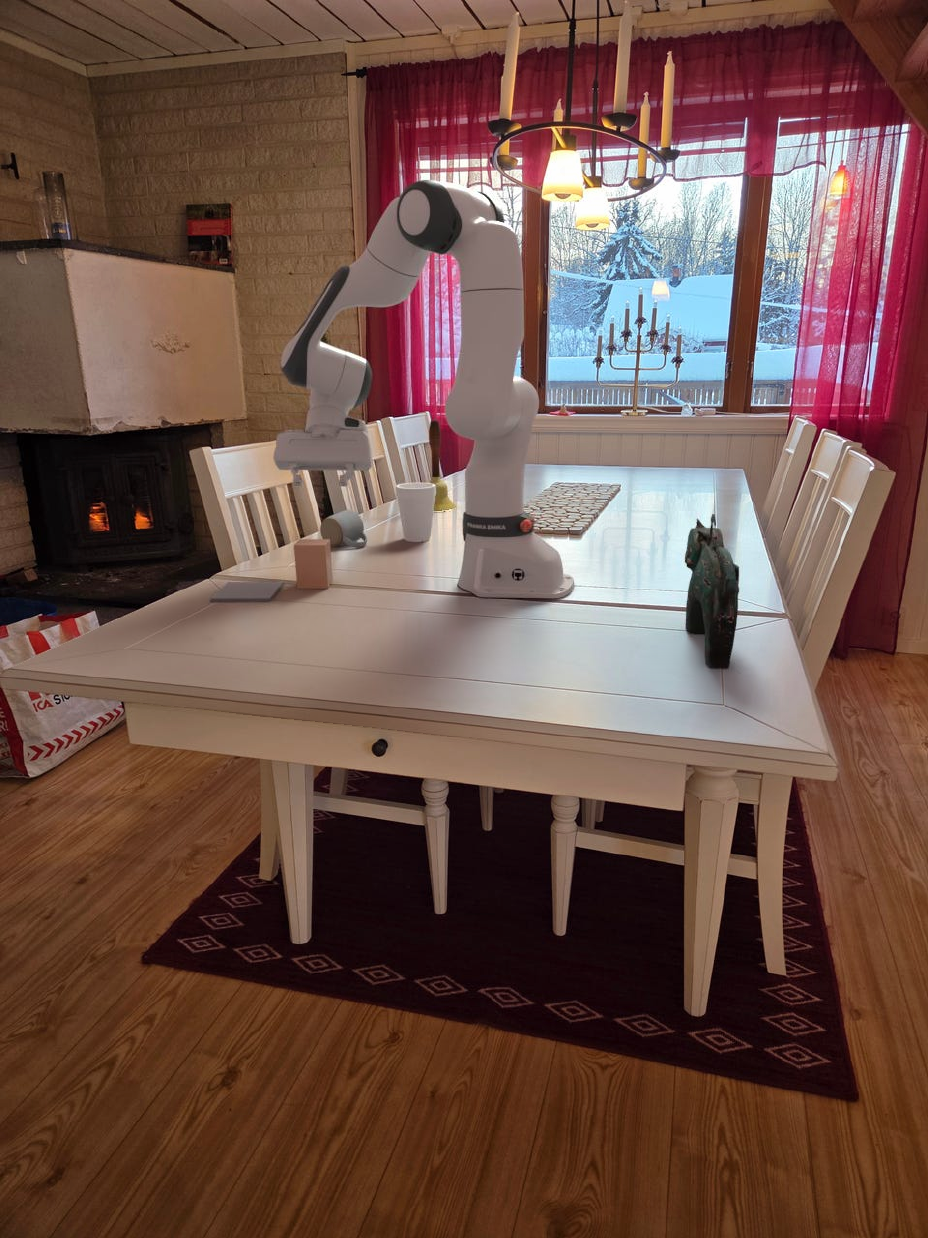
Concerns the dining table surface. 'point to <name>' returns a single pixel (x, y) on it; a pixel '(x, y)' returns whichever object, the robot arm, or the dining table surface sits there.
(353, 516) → the ceramic mug
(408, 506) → the foam cup
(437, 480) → the handbell
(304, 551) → the tan wooden post block
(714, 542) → the dark green horse figurine
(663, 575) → the dining table surface
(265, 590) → the slate coaster
